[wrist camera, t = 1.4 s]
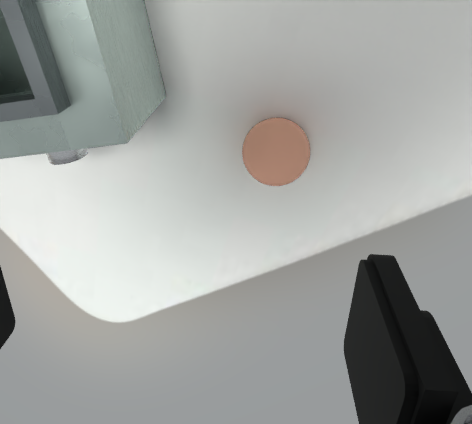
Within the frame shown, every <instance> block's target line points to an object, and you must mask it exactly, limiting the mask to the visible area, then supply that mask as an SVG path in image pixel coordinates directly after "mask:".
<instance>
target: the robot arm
mask: <svg viewBox="0 0 472 424" xmlns="http://www.w3.org/2000/svg"><path fill="white" fill-rule="evenodd" d="M14 327H15V317H14V313H13V309H12V307H11V302H10V299H9V296H8V292H7V288H6V285H5V281H4V278H3V274H2V270H1V267H0V349H1V347H2V346H3V345H4V343H5V342H6V340H7V339H8V338H9V336H10V335H11V334H12V332H13V330H14ZM344 355H345V359H346V364H347V369H348V374H349V379H350V383H351V388H352V393H353V397H354V402H355V407H356V411H357V416H358V421H359V424H472V393H471V391H470V389H469V387H468V385H467V383H466V381H465V379H464V377H463V375H462V373H461V371H460V369H459V367H458V365H457V363H456V361H455V359H454V357H453V356H452V353H451V352H450V349H449V348H448V345H447V343H446V341H445V339H444V338H443V335H442V333H441V331H440V330H439V328H438V326H437V324H436V322H435V320H434V318H433V316H432V315H431V314H430V313H429V312H428V311H420V309H419V307H418V305H417V303H416V301H415V299H414V297H413V295H412V293H411V290H410V288H409V286H408V284H407V282H406V280H405V278H404V276H403V273H402V271H401V269H400V267H399V265H398V263H397V261H396V259H395V257H394V256H391V255H373V254H370V255H369V256H368V258H367V260H361V261H360V263H359V267H358V272H357V277H356V282H355V288H354V293H353V298H352V303H351V308H350V313H349V318H348V324H347V328H346V334H345V339H344Z"/></svg>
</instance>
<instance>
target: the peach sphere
mask: <svg viewBox="0 0 472 424" xmlns="http://www.w3.org/2000/svg"><path fill="white" fill-rule="evenodd" d="M242 155H243V161H244V164H245V167H246V168H247V170H248V172H249V173H250V174H251V175H252V176H253V177H254V178H255V179H256V180H258V181H259V182H261V183H263V184H266V185H271V186H281V185H285V184H288V183H291V182H293V181H294V180H296V179H297V178H298V177H299V176H300V175H301V174H302V173H303V172H304V170H305V169H306V167H307V165H308V162H309V158H310V144H309V141H308V138H307V136H306V134H305V133H304V131H303V130H302V129H301V128H300V127H299V126H298V125H297V124H295V123H294V122H292V121H290V120H287V119H284V118H270V119H266V120H263V121H261V122H259V123H258V124H256V125H255V126H254V127H253V128H252V129H251V130H250V131H249V133H248V134H247V136H246V138H245V141H244V143H243V150H242Z"/></svg>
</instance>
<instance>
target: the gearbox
mask: <svg viewBox="0 0 472 424" xmlns="http://www.w3.org/2000/svg"><path fill="white" fill-rule="evenodd" d="M165 97H166V94H165V90H164V85H163V81H162V77H161V72H160V68H159V64H158V59H157V55H156V51H155V47H154V42H153V38H152V34H151V29H150V25H149V21H148V16H147V12H146V8H145V3H144V0H0V159H3V158H11V157H19V156H27V155H36V154H44V153H46V154H47V157H48V159H49V162H50V163H51V164H54V165H59V164H66V163H70V162H73V161H76V160H79V159H81V158H83V157H84V156H86V155H87V154H88V150H87V148H93V147H101V146H109V145H117V144H125V143H128V142H129V140H130V139H131V138H132V137H133V136H134V135H135V133H136V132H137V131H138V130H139V129H140V127H141V126H142V125H143V124H144V123H145V121H146V120H147V119H148V118H149V117H150V115H151V114H152V113H153V112H154V111H155V109H156V108H157V107H158V106H159V105H160V103H161V102H162V101H163V100H164V99H165Z"/></svg>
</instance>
